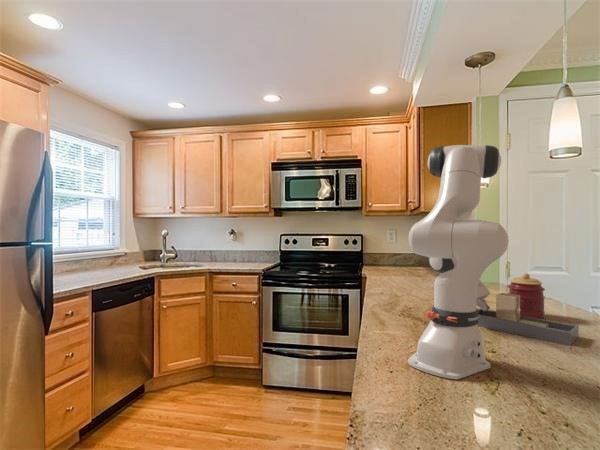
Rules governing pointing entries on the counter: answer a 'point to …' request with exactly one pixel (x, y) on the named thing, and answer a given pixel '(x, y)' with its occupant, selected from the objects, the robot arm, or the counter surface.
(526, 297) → the canister
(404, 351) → the counter surface
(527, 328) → the box
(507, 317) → the block
